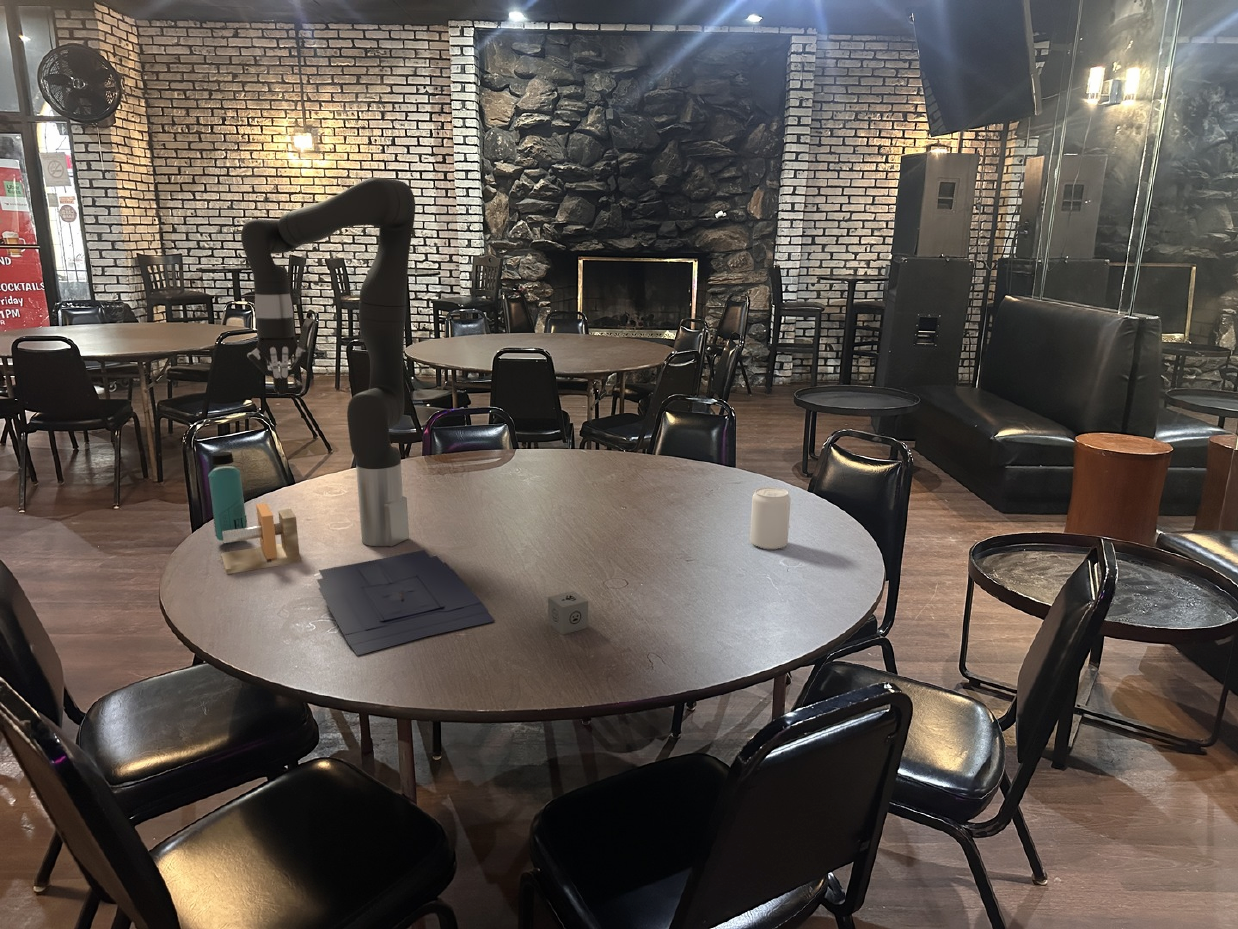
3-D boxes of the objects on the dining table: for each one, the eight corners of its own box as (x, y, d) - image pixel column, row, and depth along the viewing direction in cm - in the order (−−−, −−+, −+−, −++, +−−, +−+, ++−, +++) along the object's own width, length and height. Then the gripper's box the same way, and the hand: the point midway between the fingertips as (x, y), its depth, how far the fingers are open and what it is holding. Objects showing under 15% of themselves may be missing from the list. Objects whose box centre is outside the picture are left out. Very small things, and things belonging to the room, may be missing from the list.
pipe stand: (226, 574, 164) (221, 530, 162) (221, 557, 173) (216, 516, 170) (301, 561, 171) (297, 519, 169) (293, 546, 179) (289, 506, 177)
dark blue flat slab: (433, 560, 169) (433, 544, 168) (496, 634, 146) (496, 616, 145) (308, 585, 156) (307, 568, 155) (355, 670, 133) (354, 651, 132)
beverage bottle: (236, 549, 178) (226, 457, 172) (209, 546, 179) (197, 455, 174) (255, 538, 184) (246, 450, 179) (228, 536, 185) (218, 448, 180)
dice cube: (588, 627, 143) (588, 600, 142) (562, 635, 141) (562, 607, 139) (573, 617, 147) (573, 590, 146) (548, 623, 145) (548, 596, 143)
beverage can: (791, 541, 185) (794, 489, 182) (782, 553, 178) (785, 499, 175) (755, 536, 188) (758, 484, 185) (745, 547, 181) (748, 494, 178)
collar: (266, 559, 168) (262, 516, 166) (260, 545, 176) (256, 504, 173) (277, 557, 169) (273, 515, 167) (270, 543, 176) (266, 503, 174)
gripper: (303, 312, 188) (309, 389, 193) (239, 314, 182) (247, 393, 186) (309, 315, 182) (316, 394, 187) (244, 317, 176) (252, 399, 180)
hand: (281, 393), depth 187 cm, fingers closed
